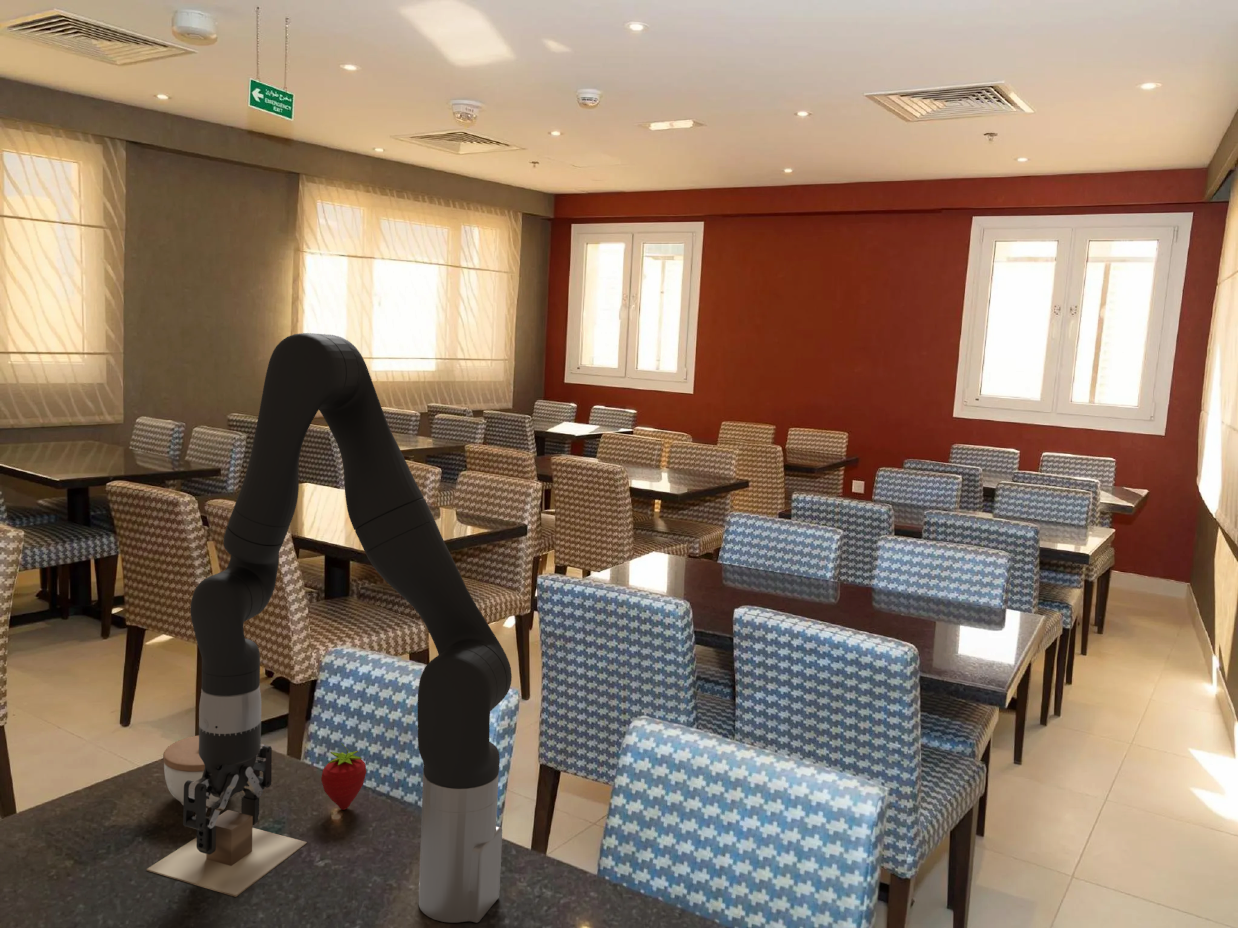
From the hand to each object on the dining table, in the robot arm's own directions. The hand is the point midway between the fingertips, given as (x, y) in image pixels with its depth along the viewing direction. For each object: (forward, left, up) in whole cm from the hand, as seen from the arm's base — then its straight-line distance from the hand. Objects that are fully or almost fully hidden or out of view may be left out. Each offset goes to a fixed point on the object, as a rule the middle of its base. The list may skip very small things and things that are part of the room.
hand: (228, 836), depth 129 cm
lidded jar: (+14, -11, -3) cm, 18 cm away
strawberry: (-6, -17, -3) cm, 18 cm away
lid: (0, 0, -3) cm, 3 cm away
